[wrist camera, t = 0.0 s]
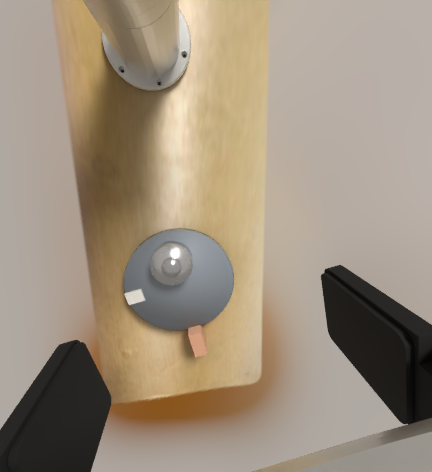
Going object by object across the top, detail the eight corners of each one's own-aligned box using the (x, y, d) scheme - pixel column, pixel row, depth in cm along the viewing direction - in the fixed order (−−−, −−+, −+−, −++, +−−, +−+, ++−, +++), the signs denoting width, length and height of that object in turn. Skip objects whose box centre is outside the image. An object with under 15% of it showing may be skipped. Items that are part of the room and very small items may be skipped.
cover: (147, 246, 43) (143, 255, 40) (186, 236, 44) (186, 243, 40) (159, 281, 45) (157, 292, 42) (196, 271, 46) (197, 281, 42)
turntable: (110, 245, 44) (102, 253, 40) (218, 216, 45) (222, 221, 41) (153, 353, 52) (150, 370, 48) (246, 326, 53) (251, 340, 49)
